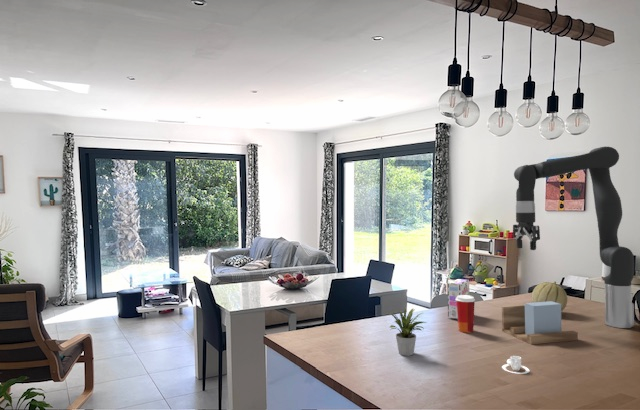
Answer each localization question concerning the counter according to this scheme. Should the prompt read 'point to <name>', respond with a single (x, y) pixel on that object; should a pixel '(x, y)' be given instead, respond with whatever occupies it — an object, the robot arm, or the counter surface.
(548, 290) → the cantaloupe
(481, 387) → the counter surface
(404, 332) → the house plant
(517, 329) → the track
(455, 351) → the counter surface
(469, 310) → the paper cup
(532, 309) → the panel
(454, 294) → the candy box
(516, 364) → the teacup and saucer
